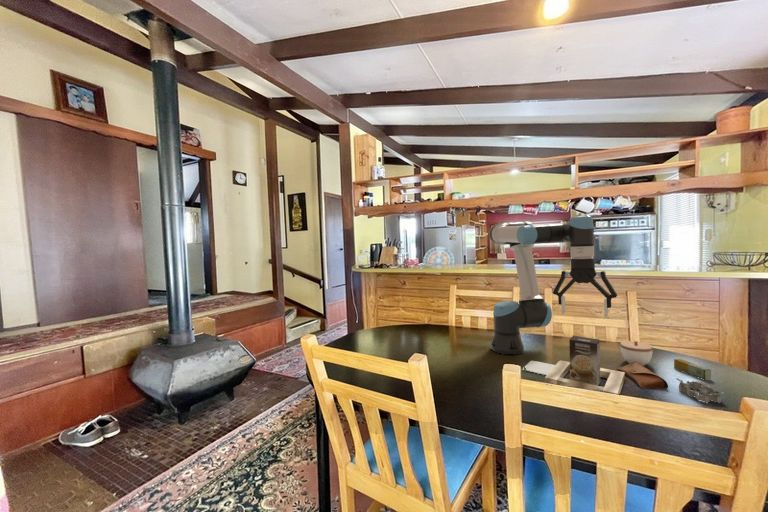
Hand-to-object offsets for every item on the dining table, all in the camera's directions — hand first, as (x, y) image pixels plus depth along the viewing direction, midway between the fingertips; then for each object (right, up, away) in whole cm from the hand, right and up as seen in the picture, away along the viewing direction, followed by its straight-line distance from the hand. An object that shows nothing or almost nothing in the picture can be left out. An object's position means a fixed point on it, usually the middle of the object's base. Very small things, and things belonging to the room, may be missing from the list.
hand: (584, 314), depth 120 cm
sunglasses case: (+22, -25, +1) cm, 33 cm away
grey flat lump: (+30, -25, -14) cm, 41 cm away
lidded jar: (+31, -23, +15) cm, 41 cm away
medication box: (+43, -23, +3) cm, 49 cm away
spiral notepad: (-10, -25, +14) cm, 30 cm away
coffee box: (+1, -25, +1) cm, 25 cm away
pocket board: (+1, -25, +1) cm, 25 cm away
